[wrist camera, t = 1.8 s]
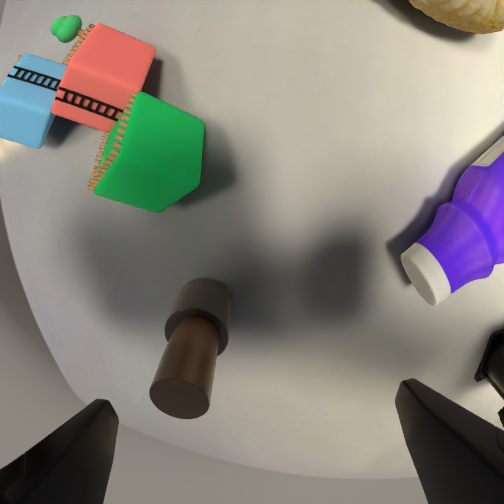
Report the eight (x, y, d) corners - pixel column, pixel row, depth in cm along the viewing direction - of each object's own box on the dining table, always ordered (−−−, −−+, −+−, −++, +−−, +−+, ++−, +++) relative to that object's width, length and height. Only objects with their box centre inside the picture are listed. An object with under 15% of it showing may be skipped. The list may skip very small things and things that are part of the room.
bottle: (510, 113, 15) (376, 226, 18) (556, 111, 9) (419, 252, 12) (534, 185, 16) (415, 302, 20) (576, 195, 11) (454, 341, 14)
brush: (235, 323, 20) (227, 426, 11) (184, 326, 20) (152, 423, 11) (228, 276, 19) (213, 368, 10) (174, 280, 19) (126, 368, 10)
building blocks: (148, 138, 20) (12, 91, 12) (215, 74, 15) (40, -3, 7) (132, 234, 18) (-35, 190, 10) (205, 184, 12) (-51, 100, 4)
